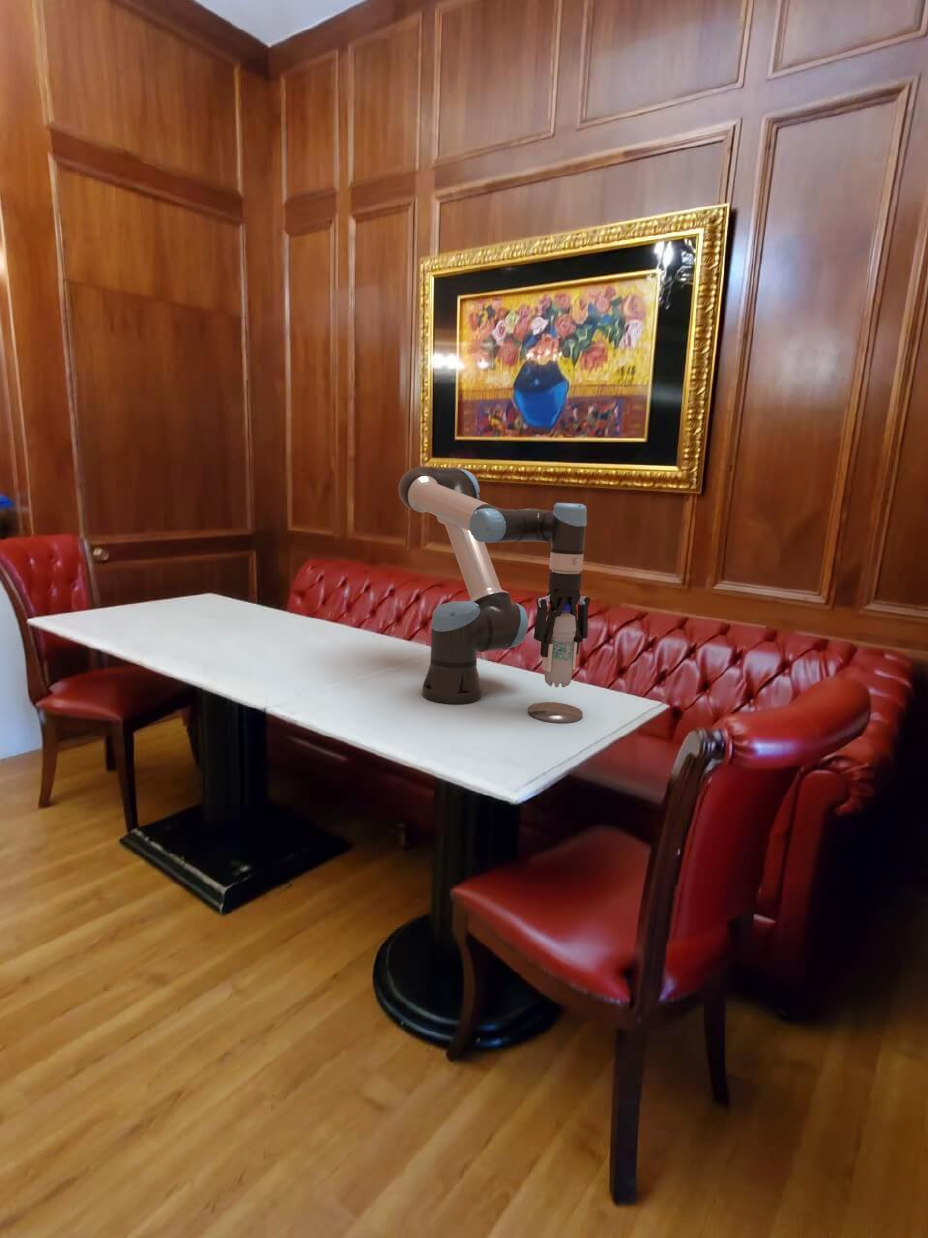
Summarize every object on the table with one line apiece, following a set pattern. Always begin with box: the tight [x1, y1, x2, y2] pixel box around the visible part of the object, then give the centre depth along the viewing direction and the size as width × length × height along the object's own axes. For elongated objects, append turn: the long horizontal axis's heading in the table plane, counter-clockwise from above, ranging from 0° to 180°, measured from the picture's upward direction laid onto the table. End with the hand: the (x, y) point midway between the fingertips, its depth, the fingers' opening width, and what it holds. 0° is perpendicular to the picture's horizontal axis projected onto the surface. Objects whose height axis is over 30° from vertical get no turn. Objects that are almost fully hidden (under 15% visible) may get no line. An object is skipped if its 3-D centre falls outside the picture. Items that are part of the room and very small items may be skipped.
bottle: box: [544, 603, 576, 688], centre depth 163 cm, size 7×7×20 cm
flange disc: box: [527, 701, 584, 724], centre depth 167 cm, size 13×13×1 cm
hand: (558, 668), depth 165 cm, fingers closed on bottle, 6 cm apart
